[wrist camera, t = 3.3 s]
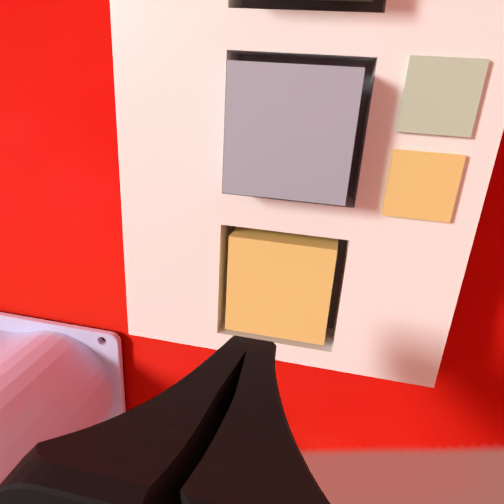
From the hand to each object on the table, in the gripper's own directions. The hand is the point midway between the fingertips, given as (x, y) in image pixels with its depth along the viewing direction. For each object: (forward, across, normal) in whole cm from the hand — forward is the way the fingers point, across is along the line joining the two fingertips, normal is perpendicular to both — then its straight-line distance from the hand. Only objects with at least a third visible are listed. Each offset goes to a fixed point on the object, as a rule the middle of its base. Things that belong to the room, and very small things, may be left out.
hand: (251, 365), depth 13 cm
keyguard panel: (+8, 0, -6) cm, 11 cm away
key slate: (+6, 0, -7) cm, 9 cm away
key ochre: (+7, 0, 0) cm, 7 cm away
